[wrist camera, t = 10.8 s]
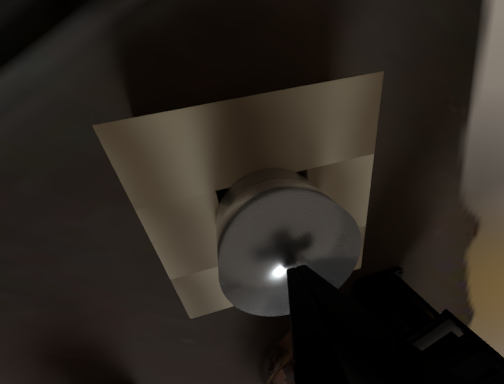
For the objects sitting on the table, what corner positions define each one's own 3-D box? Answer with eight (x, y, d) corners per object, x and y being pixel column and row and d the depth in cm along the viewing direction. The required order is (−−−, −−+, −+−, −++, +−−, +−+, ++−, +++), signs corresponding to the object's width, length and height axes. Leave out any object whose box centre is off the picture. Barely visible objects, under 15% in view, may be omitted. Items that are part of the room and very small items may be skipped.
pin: (286, 141, 16) (368, 182, 8) (292, 210, 18) (356, 293, 10) (204, 158, 15) (198, 224, 7) (224, 227, 18) (235, 331, 10)
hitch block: (329, 80, 14) (383, 71, 10) (327, 231, 21) (360, 268, 16) (132, 117, 13) (92, 125, 8) (194, 268, 19) (190, 318, 15)
